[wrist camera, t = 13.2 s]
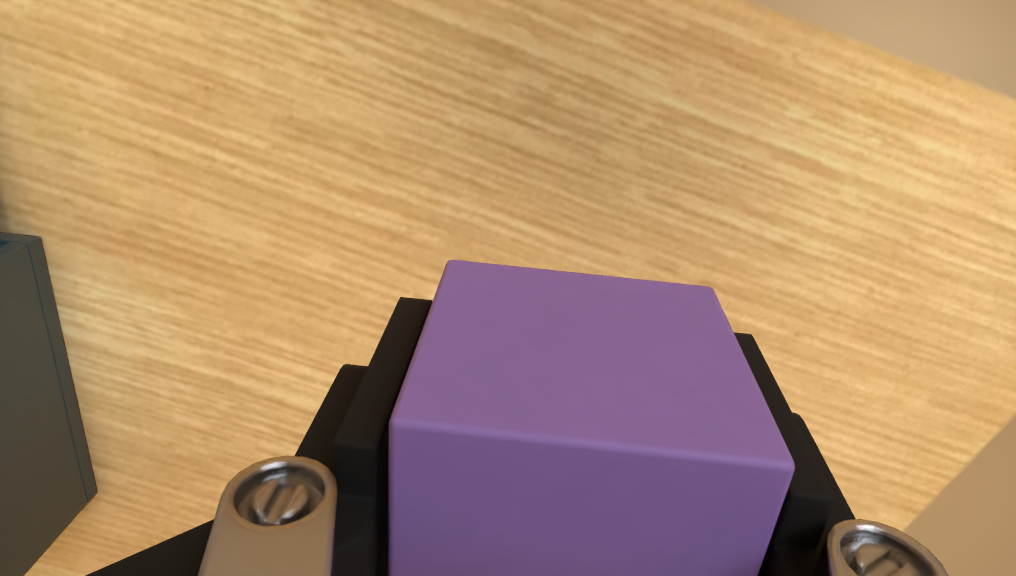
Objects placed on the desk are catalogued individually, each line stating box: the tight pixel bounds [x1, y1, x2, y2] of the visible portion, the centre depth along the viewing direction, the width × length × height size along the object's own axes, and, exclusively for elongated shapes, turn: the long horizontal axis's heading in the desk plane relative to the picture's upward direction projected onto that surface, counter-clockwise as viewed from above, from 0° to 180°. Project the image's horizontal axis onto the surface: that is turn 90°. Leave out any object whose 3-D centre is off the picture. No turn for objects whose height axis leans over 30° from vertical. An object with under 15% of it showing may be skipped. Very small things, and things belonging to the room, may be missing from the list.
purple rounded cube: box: [388, 260, 795, 576], centre depth 10 cm, size 4×4×4 cm
